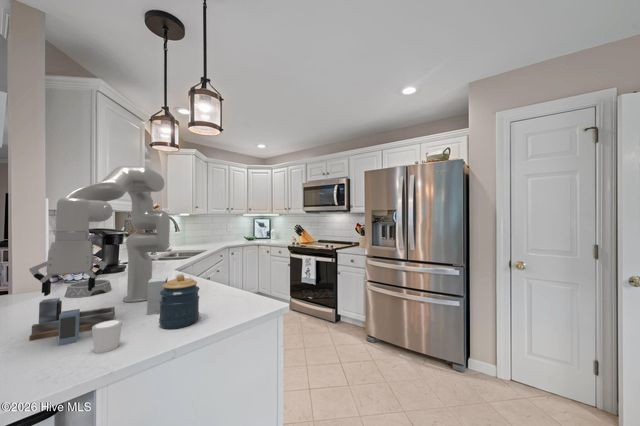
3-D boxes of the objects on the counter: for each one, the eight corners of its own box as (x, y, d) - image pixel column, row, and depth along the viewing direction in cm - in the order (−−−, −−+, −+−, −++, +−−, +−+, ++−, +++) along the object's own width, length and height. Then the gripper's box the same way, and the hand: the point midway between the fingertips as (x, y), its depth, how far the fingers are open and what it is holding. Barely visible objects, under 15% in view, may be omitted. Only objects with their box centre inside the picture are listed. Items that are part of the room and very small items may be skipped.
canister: (156, 332, 85) (158, 279, 86) (160, 319, 97) (161, 272, 97) (199, 325, 91) (200, 276, 92) (198, 313, 103) (199, 269, 103)
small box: (164, 312, 104) (165, 280, 104) (146, 315, 101) (147, 282, 101) (167, 306, 111) (167, 276, 111) (149, 308, 108) (150, 277, 108)
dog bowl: (119, 290, 136) (119, 280, 136) (74, 300, 119) (75, 289, 120) (101, 287, 143) (101, 277, 143) (57, 295, 126) (57, 285, 127)
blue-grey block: (61, 340, 79) (62, 311, 80) (78, 337, 82) (79, 308, 82) (57, 346, 76) (58, 315, 76) (76, 342, 78) (77, 313, 78)
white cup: (103, 342, 78) (104, 319, 78) (126, 341, 79) (127, 319, 79) (84, 354, 71) (85, 329, 71) (110, 353, 72) (111, 328, 72)
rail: (114, 315, 100) (115, 288, 100) (112, 325, 90) (113, 296, 91) (41, 327, 88) (42, 297, 89) (29, 341, 79) (30, 306, 79)
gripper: (109, 236, 88) (106, 286, 87) (35, 237, 78) (32, 294, 77) (106, 237, 82) (104, 290, 81) (27, 238, 72) (23, 300, 71)
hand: (69, 292), depth 79 cm, fingers open, 9 cm apart
